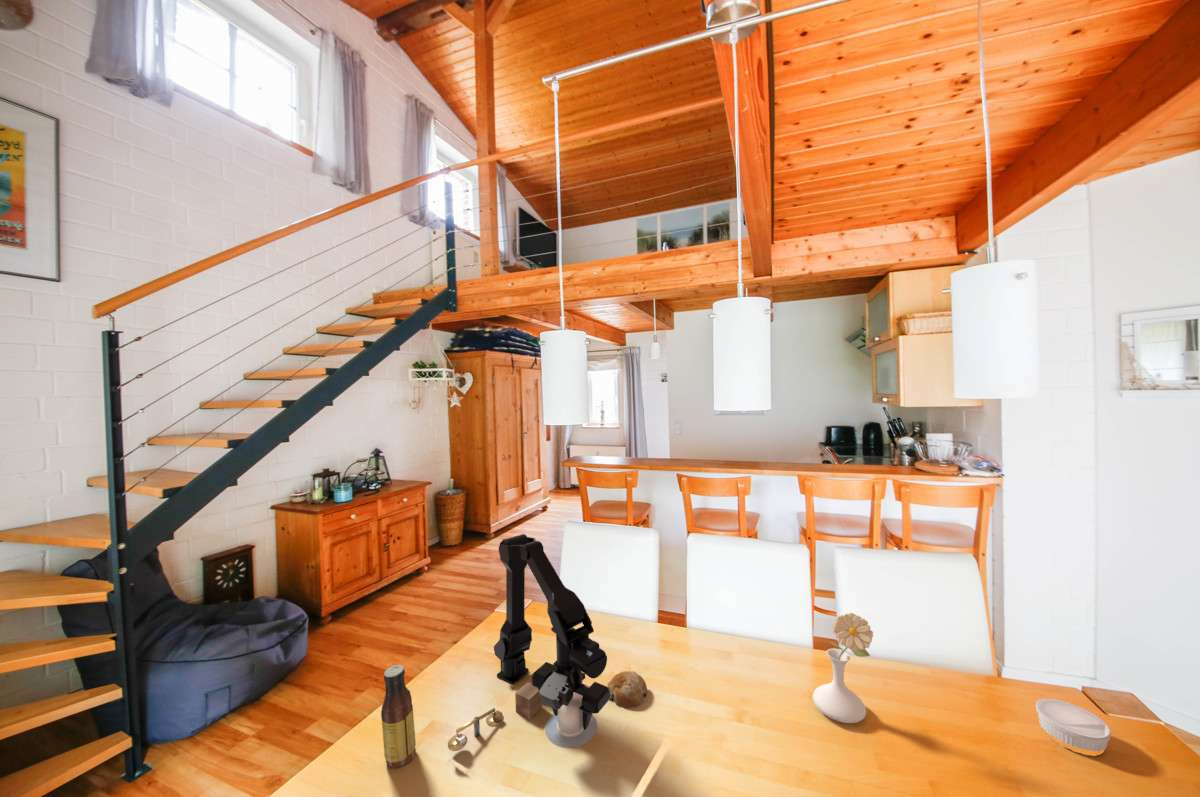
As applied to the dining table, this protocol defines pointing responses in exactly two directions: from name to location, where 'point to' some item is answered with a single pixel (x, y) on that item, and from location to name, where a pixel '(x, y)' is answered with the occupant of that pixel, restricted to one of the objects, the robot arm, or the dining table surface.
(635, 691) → the bread roll
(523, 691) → the walnut block
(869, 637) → the flower in vase
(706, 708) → the dining table surface
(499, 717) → the balance
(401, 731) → the sauce bottle
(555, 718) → the dish
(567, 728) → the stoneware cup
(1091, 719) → the ramekin
